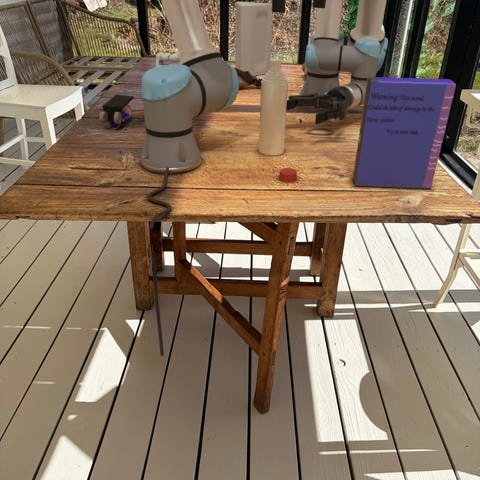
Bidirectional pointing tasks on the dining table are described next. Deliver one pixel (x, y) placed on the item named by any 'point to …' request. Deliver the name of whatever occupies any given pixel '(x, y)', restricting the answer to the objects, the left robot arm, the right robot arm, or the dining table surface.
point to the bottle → (273, 110)
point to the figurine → (247, 79)
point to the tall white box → (253, 37)
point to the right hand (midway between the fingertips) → (297, 113)
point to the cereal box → (402, 131)
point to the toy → (167, 58)
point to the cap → (288, 175)
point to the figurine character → (116, 110)
